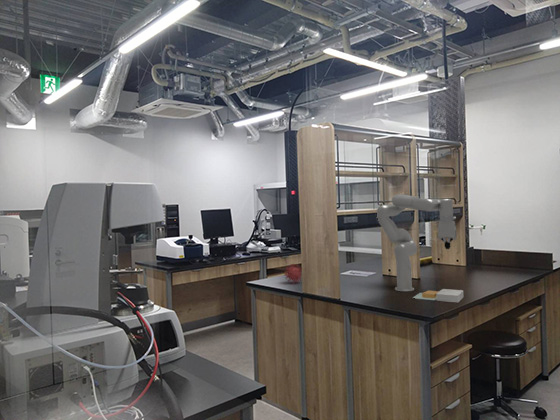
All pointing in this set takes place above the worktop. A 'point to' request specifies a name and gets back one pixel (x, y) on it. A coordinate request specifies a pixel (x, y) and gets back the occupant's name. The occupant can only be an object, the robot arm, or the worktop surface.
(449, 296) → the platform
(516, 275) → the worktop surface
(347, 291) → the worktop surface
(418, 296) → the mat
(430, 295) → the slide box
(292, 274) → the virus model
